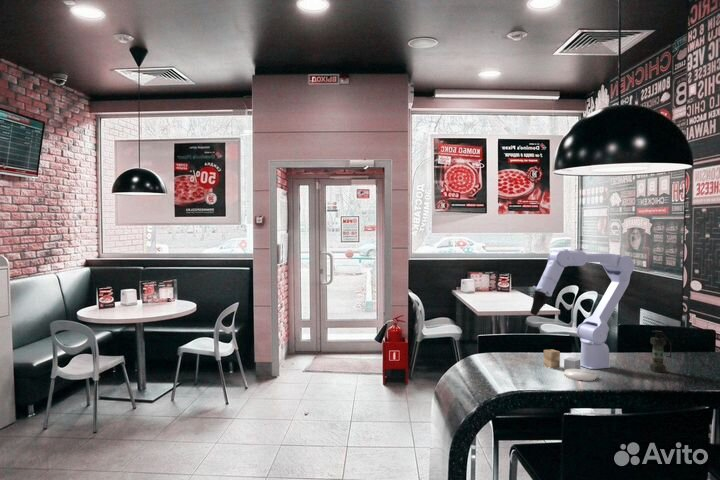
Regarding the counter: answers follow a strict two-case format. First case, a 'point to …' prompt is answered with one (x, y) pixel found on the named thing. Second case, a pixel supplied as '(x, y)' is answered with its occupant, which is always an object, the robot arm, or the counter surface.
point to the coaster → (580, 374)
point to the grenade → (658, 351)
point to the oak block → (552, 358)
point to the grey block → (571, 363)
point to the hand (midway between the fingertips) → (533, 313)
